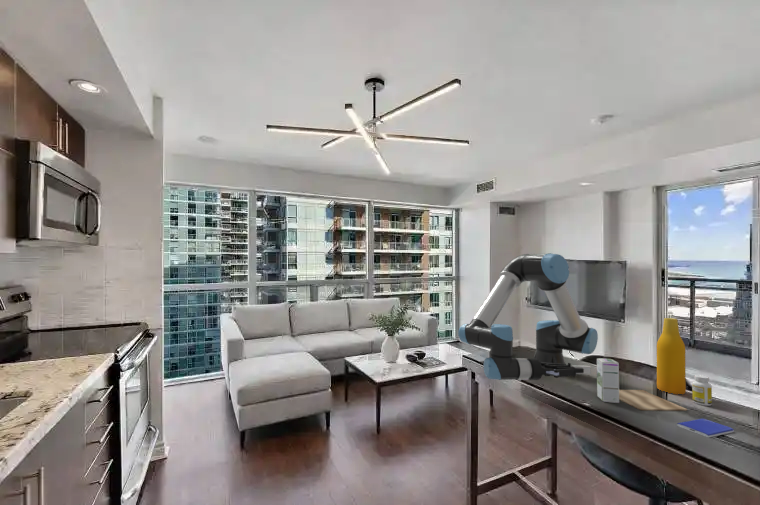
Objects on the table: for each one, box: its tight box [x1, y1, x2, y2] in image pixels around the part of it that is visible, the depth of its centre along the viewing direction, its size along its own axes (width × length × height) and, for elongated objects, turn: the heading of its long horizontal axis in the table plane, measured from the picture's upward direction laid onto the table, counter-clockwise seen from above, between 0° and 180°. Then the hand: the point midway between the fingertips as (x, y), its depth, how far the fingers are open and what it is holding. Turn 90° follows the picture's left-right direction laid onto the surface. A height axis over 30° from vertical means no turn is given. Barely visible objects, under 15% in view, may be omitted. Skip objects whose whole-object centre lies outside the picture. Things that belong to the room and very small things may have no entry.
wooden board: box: [619, 389, 688, 412], centre depth 137 cm, size 17×20×1 cm
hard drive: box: [676, 418, 735, 438], centre depth 113 cm, size 2×8×12 cm
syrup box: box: [596, 357, 620, 404], centre depth 136 cm, size 6×6×14 cm
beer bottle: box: [656, 317, 687, 395], centre depth 149 cm, size 9×9×29 cm
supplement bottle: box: [691, 374, 713, 407], centre depth 135 cm, size 5×5×10 cm
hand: (589, 369), depth 136 cm, fingers closed
